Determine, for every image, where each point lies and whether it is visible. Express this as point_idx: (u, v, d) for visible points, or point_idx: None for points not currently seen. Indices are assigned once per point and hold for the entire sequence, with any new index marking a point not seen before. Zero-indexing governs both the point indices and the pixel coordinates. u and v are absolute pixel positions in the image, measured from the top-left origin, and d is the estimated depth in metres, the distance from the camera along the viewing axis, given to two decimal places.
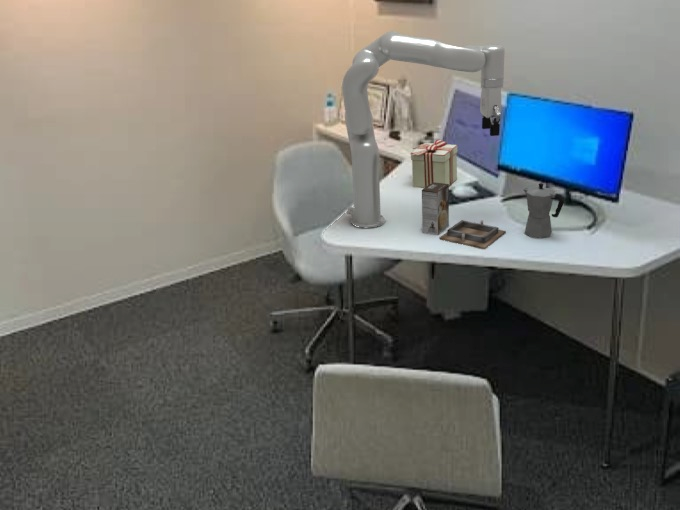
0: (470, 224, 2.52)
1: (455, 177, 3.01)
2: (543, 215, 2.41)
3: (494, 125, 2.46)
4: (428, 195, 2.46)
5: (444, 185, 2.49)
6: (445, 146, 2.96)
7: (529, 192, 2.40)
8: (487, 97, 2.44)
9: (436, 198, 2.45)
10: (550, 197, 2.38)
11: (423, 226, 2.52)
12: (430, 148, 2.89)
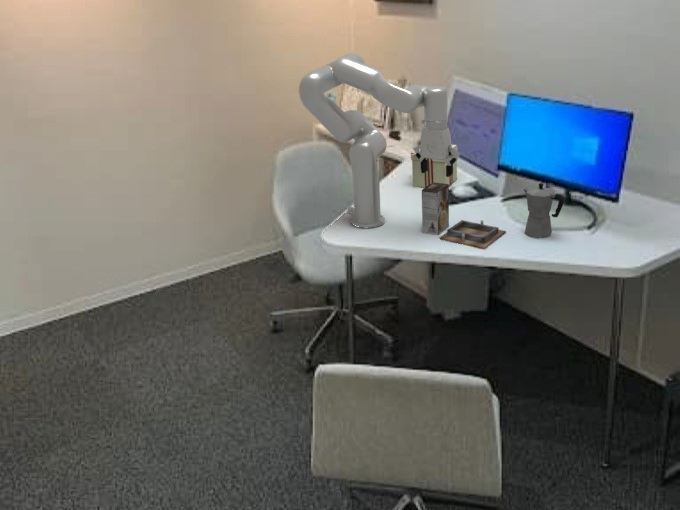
0: (470, 224, 2.52)
1: (455, 177, 3.01)
2: (543, 215, 2.41)
3: (451, 165, 2.41)
4: (428, 195, 2.46)
5: (444, 185, 2.49)
6: None
7: (529, 192, 2.40)
8: (442, 139, 2.37)
9: (436, 198, 2.45)
10: (550, 197, 2.38)
11: (423, 226, 2.52)
12: None
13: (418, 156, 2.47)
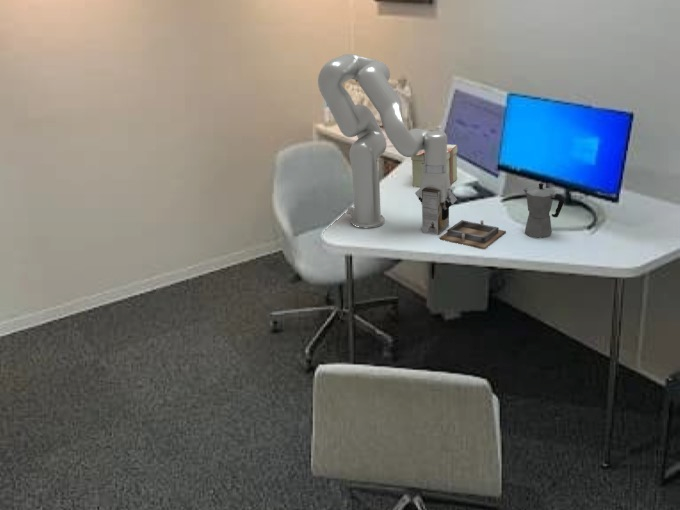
0: (470, 224, 2.52)
1: (455, 177, 3.01)
2: (543, 215, 2.41)
3: (447, 209, 2.48)
4: (428, 195, 2.46)
5: None
6: None
7: (529, 192, 2.40)
8: (441, 183, 2.43)
9: (436, 198, 2.45)
10: (550, 197, 2.38)
11: (423, 226, 2.52)
12: None
13: (421, 200, 2.53)
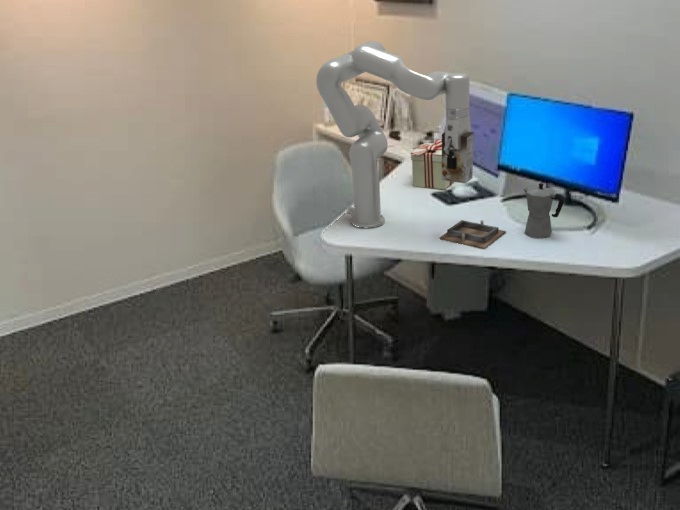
0: (470, 224, 2.52)
1: None
2: (543, 215, 2.41)
3: None
4: (469, 139, 2.34)
5: None
6: None
7: (529, 192, 2.40)
8: (469, 123, 2.36)
9: None
10: (550, 197, 2.38)
11: (466, 176, 2.37)
12: (430, 148, 2.89)
13: (451, 153, 2.34)
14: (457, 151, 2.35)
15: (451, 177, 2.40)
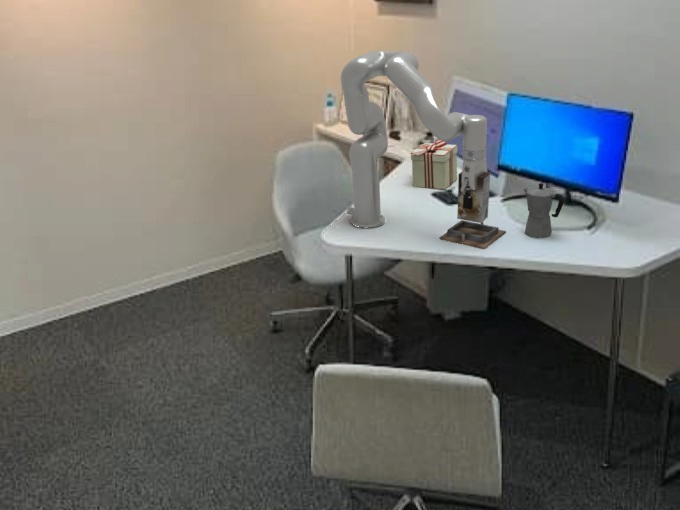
0: (470, 224, 2.52)
1: (455, 177, 3.01)
2: (543, 215, 2.41)
3: None
4: (486, 180, 2.37)
5: None
6: (445, 146, 2.96)
7: (529, 192, 2.40)
8: (486, 163, 2.39)
9: (489, 179, 2.39)
10: (550, 197, 2.38)
11: (482, 216, 2.40)
12: (430, 148, 2.89)
13: (467, 194, 2.36)
14: (473, 191, 2.37)
15: (467, 216, 2.42)
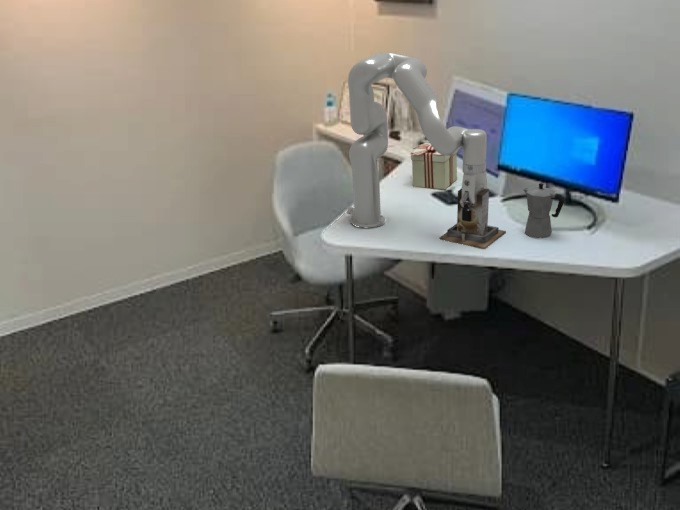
0: None
1: (455, 177, 3.01)
2: (543, 215, 2.41)
3: None
4: (485, 197, 2.39)
5: None
6: None
7: (529, 192, 2.40)
8: (486, 177, 2.40)
9: (488, 196, 2.41)
10: (550, 197, 2.38)
11: (481, 232, 2.42)
12: (430, 148, 2.89)
13: (466, 207, 2.37)
14: (472, 208, 2.40)
15: (467, 232, 2.45)
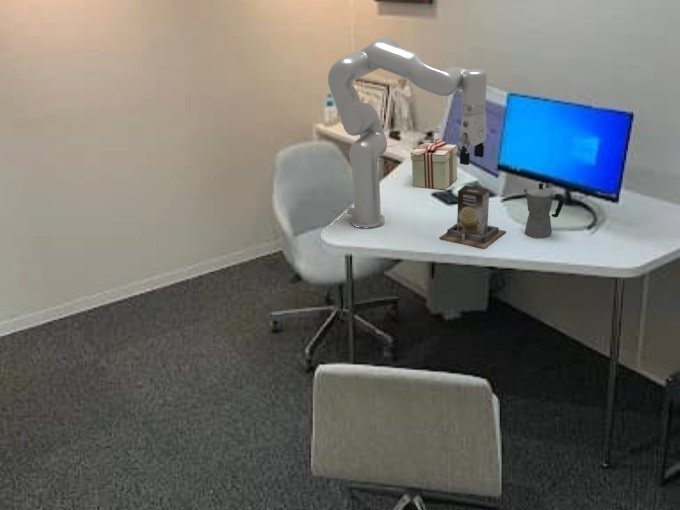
0: None
1: (455, 177, 3.01)
2: (543, 215, 2.41)
3: None
4: (485, 197, 2.39)
5: (469, 186, 2.44)
6: (445, 146, 2.96)
7: (529, 192, 2.40)
8: (485, 119, 2.34)
9: (488, 196, 2.41)
10: (550, 197, 2.38)
11: (481, 232, 2.42)
12: (430, 148, 2.89)
13: (464, 149, 2.31)
14: (473, 208, 2.40)
15: (467, 232, 2.45)
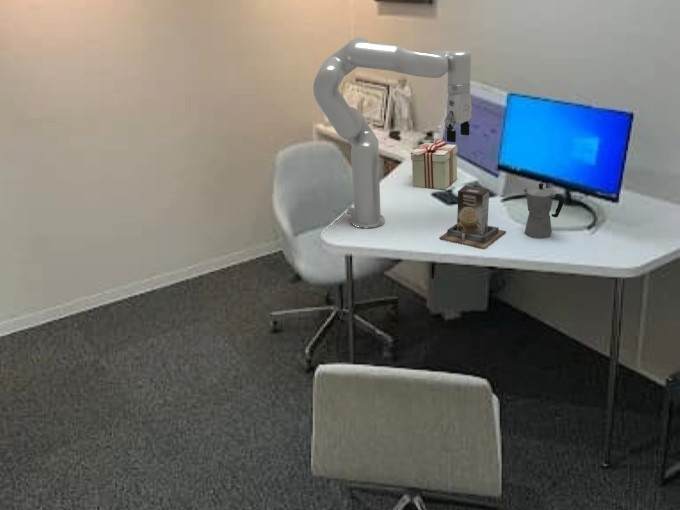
0: None
1: (455, 177, 3.01)
2: (543, 215, 2.41)
3: None
4: (485, 197, 2.39)
5: (469, 186, 2.44)
6: (445, 146, 2.96)
7: (529, 192, 2.40)
8: (470, 99, 2.46)
9: (488, 196, 2.41)
10: (550, 197, 2.38)
11: (481, 232, 2.42)
12: (430, 148, 2.89)
13: (451, 126, 2.42)
14: (473, 208, 2.40)
15: (467, 232, 2.45)
